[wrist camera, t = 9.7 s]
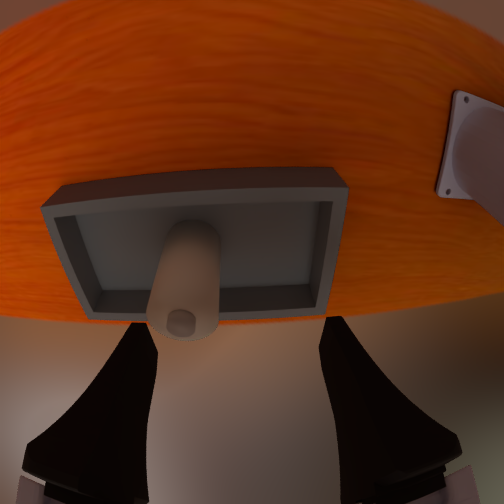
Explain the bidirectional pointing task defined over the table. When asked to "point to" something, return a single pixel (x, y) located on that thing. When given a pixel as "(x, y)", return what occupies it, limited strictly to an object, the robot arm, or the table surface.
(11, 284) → the table surface
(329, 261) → the trough
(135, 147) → the table surface
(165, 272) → the cell
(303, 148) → the table surface
